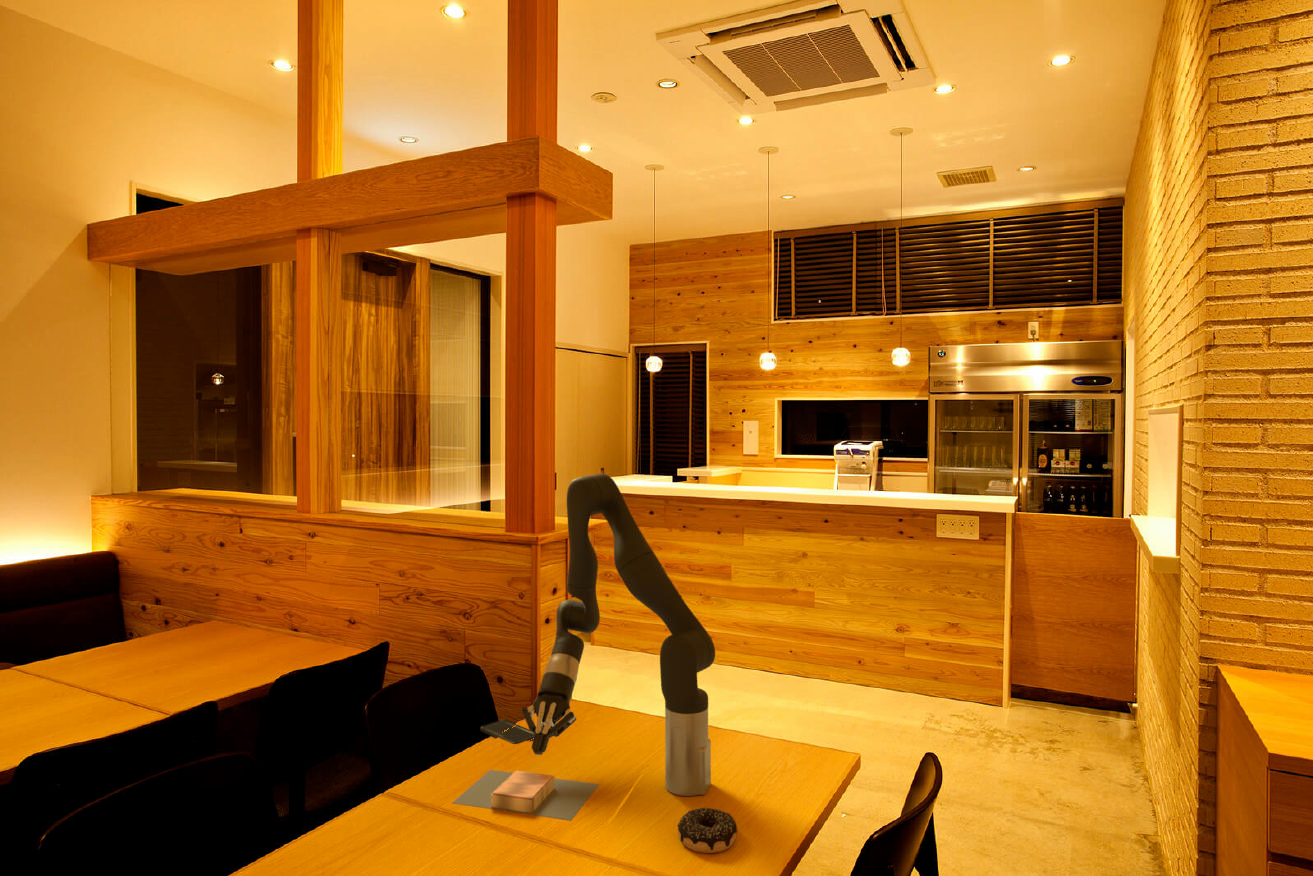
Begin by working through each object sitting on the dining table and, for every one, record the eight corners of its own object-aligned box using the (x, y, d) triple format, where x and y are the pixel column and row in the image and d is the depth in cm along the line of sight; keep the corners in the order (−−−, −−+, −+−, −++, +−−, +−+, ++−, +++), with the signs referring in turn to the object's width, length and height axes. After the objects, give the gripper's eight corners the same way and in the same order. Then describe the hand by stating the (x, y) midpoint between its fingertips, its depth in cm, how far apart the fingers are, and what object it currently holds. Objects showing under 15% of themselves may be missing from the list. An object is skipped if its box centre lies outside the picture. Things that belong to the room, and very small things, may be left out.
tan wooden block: (554, 775, 165) (532, 799, 154) (554, 788, 165) (532, 813, 154) (515, 770, 167) (491, 793, 157) (515, 783, 167) (491, 807, 157)
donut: (733, 823, 151) (733, 803, 151) (741, 857, 139) (741, 835, 139) (676, 824, 151) (676, 804, 151) (679, 858, 139) (679, 836, 139)
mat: (599, 786, 166) (599, 784, 166) (570, 823, 151) (570, 820, 151) (490, 772, 174) (490, 769, 174) (451, 805, 158) (451, 803, 158)
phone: (503, 719, 204) (540, 734, 193) (503, 723, 204) (540, 738, 193) (478, 727, 198) (514, 743, 188) (478, 732, 198) (514, 748, 188)
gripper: (527, 668, 178) (503, 742, 166) (582, 673, 174) (561, 749, 163) (537, 684, 183) (514, 757, 171) (590, 689, 180) (570, 764, 168)
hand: (537, 753), depth 167 cm, fingers closed
